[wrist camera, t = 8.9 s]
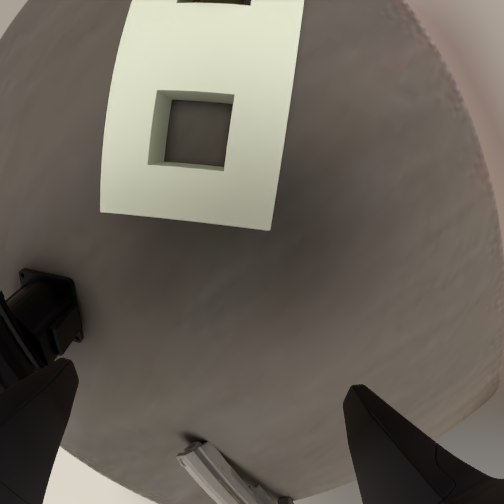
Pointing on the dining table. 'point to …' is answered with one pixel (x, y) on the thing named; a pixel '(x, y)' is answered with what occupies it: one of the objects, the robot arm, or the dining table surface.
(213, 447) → the handgun
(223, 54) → the socket block
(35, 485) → the robot arm
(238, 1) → the dowel
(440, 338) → the dining table surface
